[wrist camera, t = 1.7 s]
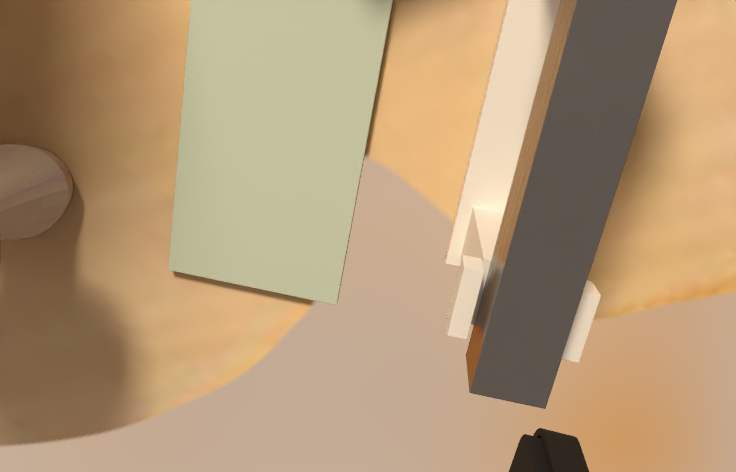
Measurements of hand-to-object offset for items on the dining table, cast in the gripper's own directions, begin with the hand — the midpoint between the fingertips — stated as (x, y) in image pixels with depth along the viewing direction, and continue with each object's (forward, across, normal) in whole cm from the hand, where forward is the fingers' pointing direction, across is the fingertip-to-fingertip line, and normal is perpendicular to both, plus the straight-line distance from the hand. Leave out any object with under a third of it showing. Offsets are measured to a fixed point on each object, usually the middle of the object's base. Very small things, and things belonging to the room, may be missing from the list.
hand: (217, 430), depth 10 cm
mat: (+26, +6, -2) cm, 27 cm away
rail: (+17, -8, -5) cm, 19 cm away
